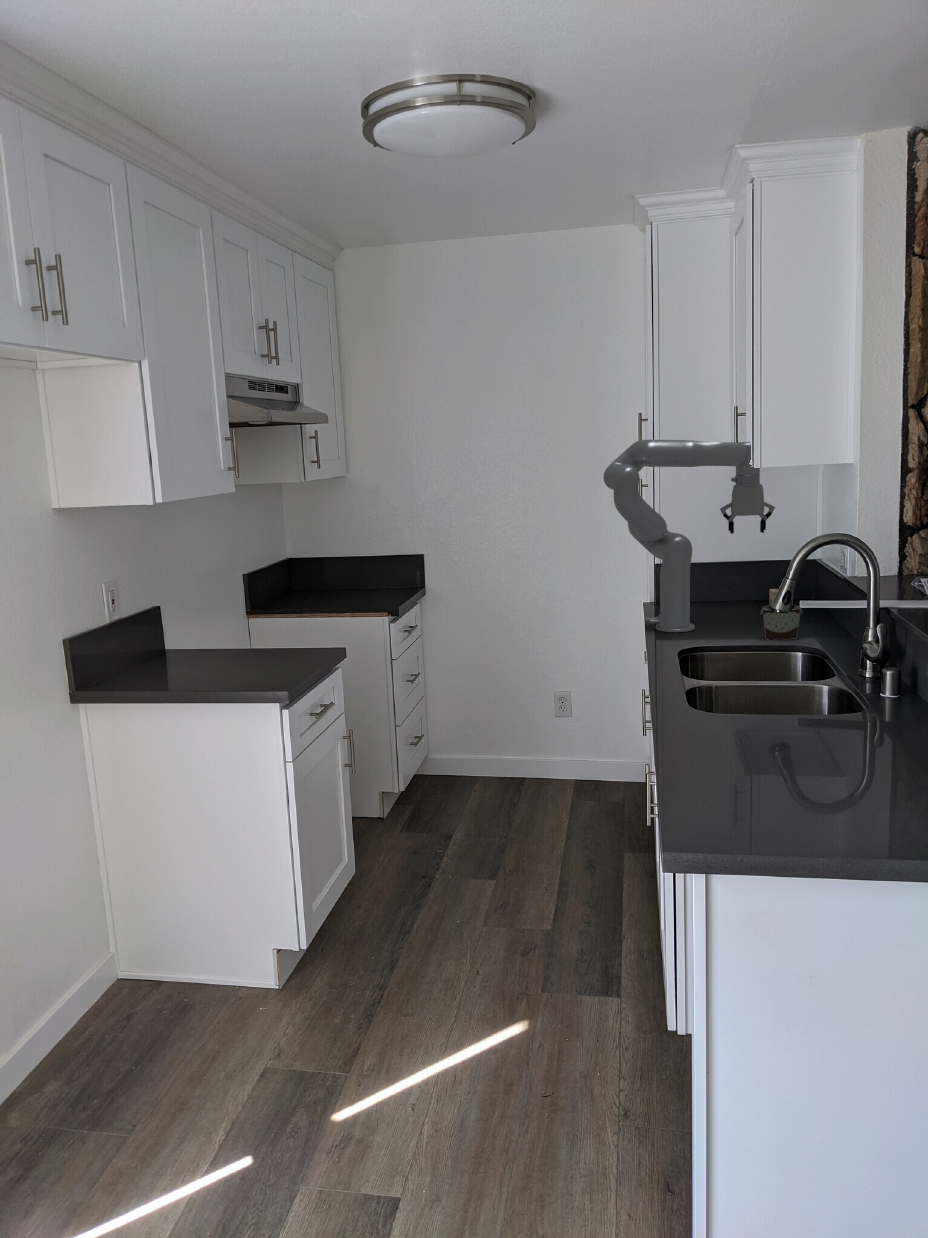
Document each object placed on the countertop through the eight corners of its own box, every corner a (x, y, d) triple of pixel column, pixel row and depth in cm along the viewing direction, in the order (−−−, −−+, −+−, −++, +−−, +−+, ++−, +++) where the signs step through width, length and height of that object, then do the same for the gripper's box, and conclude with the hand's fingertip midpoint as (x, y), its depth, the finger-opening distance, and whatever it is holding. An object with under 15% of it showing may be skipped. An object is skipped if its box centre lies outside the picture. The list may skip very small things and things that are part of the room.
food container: (796, 635, 291) (797, 603, 289) (801, 639, 285) (802, 607, 283) (756, 636, 293) (756, 604, 291) (760, 640, 287) (761, 608, 285)
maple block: (772, 607, 285) (772, 591, 284) (769, 604, 290) (769, 589, 289) (789, 607, 284) (789, 591, 283) (785, 604, 289) (786, 588, 288)
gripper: (722, 481, 302) (721, 534, 305) (777, 479, 299) (776, 533, 303) (718, 480, 309) (718, 532, 312) (772, 478, 307) (771, 530, 310)
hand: (746, 532), depth 307 cm, fingers open, 9 cm apart
